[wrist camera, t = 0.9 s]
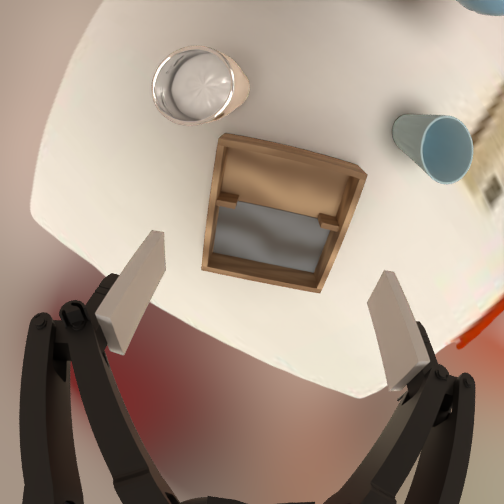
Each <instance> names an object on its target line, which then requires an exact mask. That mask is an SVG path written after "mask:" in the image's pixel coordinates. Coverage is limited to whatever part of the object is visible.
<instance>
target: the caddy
mask: <svg viewBox="0 0 504 504" xmlns="http://www.w3.org/2000/svg"><path fill="white" fill-rule="evenodd" d="M366 178H367V174H366V173H365V172H364V171H363V170H362V169H361V168H360V167H359V166H358V165H356V164H353V163H349V162H346V161H343V160H340V159H336V158H333V157H329V156H326V155H322V154H319V153H315V152H311V151H308V150H304V149H300V148H296V147H292V146H287V145H283V144H279V143H274V142H270V141H265V140H260V139H255V138H250V137H245V136H239V135H234V134H228V133H225V134H224V135H222V136H221V137H220V138H219V139H218V145H217V151H216V157H215V164H214V171H213V177H212V184H211V192H210V199H209V207H208V214H207V222H206V231H205V239H204V248H203V258H202V267H201V270H203V271H208V272H213V273H218V274H222V275H227V276H232V277H237V278H242V279H247V280H252V281H257V282H262V283H267V284H272V285H277V286H282V287H288V288H293V289H298V290H304V291H309V292H315V293H320V292H321V290H322V288H323V286H324V284H325V281H326V279H327V277H328V275H329V272H330V270H331V268H332V265H333V263H334V261H335V258H336V256H337V254H338V251H339V249H340V247H341V244H342V242H343V239H344V237H345V234H346V232H347V229H348V227H349V224H350V222H351V219H352V216H353V214H354V211H355V209H356V206H357V203H358V200H359V198H360V195H361V192H362V189H363V187H364V184H365V181H366Z"/></svg>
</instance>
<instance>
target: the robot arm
mask: <svg viewBox="0 0 504 504" xmlns="http://www.w3.org/2000/svg"><path fill="white" fill-rule="evenodd" d="M456 1H458V2H459V3H460V4H461V5H462V6H464V7H465V8H467V9H469V10H472V11H475V12H476V13H479V14H483V15H490V16H503V15H504V0H456ZM165 271H166V263H165V245H164V232H160V231H154V230H152V231H151V232H150V233H149V235H148V236H147V237H146V239H145V240H144V241H143V243H142V244H141V246H140V247H139V248H138V250H137V251H136V252H135V254H134V255H133V257H132V258H131V259H130V261H129V262H128V264H127V265H126V267H125V268H124V269H123V271H122V272H121V274H120V275H117V274H113V273H111V274H110V275H108V276H107V277H105V278H104V279H103V280H102V282H101V283H100V285H99V287H98V288H97V289H96V290H95V293H93V295H92V297H91V298H90V299H89V301H88V302H87V304H86V305H84V303H82V302H81V301H77V300H73V301H69V302H67V303H65V304H64V305H63V306H62V307H61V309H60V312H59V316H60V318H61V320H62V321H61V320H53V319H52V318H51V316H50V315H49V314H48V313H44V312H43V313H38V314H37V315H35V316H34V317H33V318H32V320H31V322H30V325H29V330H28V335H27V341H26V347H25V354H24V360H23V369H22V378H21V391H20V415H19V418H20V419H19V420H20V423H19V424H20V448H21V461H22V470H23V477H24V484H25V486H24V493H23V502H22V504H84V502H83V493H82V487H81V483H80V477H79V472H78V467H77V461H76V455H75V447H74V439H73V430H72V419H71V401H70V361H72V364H73V369H74V373H75V377H76V381H77V384H78V388H79V391H80V395H81V398H82V401H83V405H84V408H85V411H86V414H87V416H88V420H89V423H90V425H91V428H92V431H93V433H94V436H95V438H96V441H97V443H98V446H99V448H100V451H101V453H102V455H103V457H104V460H105V462H106V464H107V466H108V468H109V470H110V472H111V475H112V477H113V485H114V488H115V490H116V492H117V494H118V496H119V498H120V500H121V502H122V503H123V504H246V503H243V502H240V501H237V500H232V499H224V498H218V497H211V496H208V497H201V498H194V499H190V500H187V501H184V502H181V503H180V502H179V500H178V499H177V497H176V496H175V495H174V493H173V491H172V490H171V488H170V487H169V486H168V484H167V483H166V481H165V480H164V479H163V478H162V476H161V474H160V473H159V471H158V469H157V468H156V466H155V464H154V463H153V461H152V459H151V457H150V455H149V454H148V452H147V450H146V448H145V446H144V444H143V443H142V440H141V438H140V436H139V434H138V432H137V430H136V429H135V426H134V424H133V422H132V420H131V418H130V415H129V413H128V411H127V409H126V406H125V404H124V402H123V399H122V397H121V394H120V392H119V390H118V387H117V384H116V382H115V379H114V377H113V374H112V371H111V368H110V365H109V363H108V360H107V356H106V353H105V351H104V350H105V348H106V346H107V345H108V347H109V349H110V351H112V352H115V353H118V354H121V355H124V354H125V352H126V350H127V348H128V345H129V343H130V341H131V339H132V337H133V335H134V332H135V330H136V328H137V326H138V324H139V322H140V320H141V318H142V316H143V314H144V312H145V310H146V307H147V305H148V303H149V302H150V300H151V298H152V296H153V294H154V292H155V290H156V288H157V286H158V284H159V282H160V280H161V278H162V276H163V274H164V272H165ZM367 305H368V308H369V311H370V315H371V318H372V322H373V326H374V329H375V333H376V337H377V341H378V345H379V349H380V353H381V357H382V361H383V366H384V370H385V375H386V379H387V384H388V389H389V391H400V390H402V389H403V388H404V387H405V386H406V385H407V388H408V391H406V392H405V393H404V394H403V395H402V396H401V397H399V398H398V400H397V401H399V400H400V399H401V401H400V403H399V405H398V407H397V408H396V410H395V412H394V414H393V415H392V417H391V419H390V421H389V422H388V424H387V426H386V427H385V429H384V430H383V432H382V434H381V435H380V437H379V438H378V440H377V441H376V443H375V444H374V446H373V447H372V449H371V450H370V452H369V453H368V454H367V456H366V457H365V459H364V460H363V461H362V463H361V464H360V465H359V467H358V468H357V469H356V471H355V472H354V473H353V474H352V476H351V477H350V478H349V479H348V481H347V482H346V483H345V484H344V486H343V487H342V488H341V489H340V490H339V491H338V492H337V493H335V494H334V495H332V496H331V497H330V498H328V499H327V500H326V502H324V503H323V504H396V500H395V496H396V494H397V492H398V491H399V489H400V487H401V486H402V484H403V483H404V481H405V479H406V477H407V476H408V474H409V472H410V471H411V468H412V467H413V465H414V463H415V461H416V460H417V457H418V456H419V454H420V452H421V454H420V458H419V461H418V465H417V468H416V472H415V475H414V478H413V481H412V484H411V487H410V490H409V492H408V495H407V498H406V500H405V503H404V504H459V502H460V498H461V495H462V491H463V487H464V483H465V478H466V473H467V469H468V463H469V458H470V451H471V444H472V436H473V426H474V412H475V381H474V379H473V377H471V375H470V374H468V373H462V374H461V375H460V376H459V377H454V376H451V375H449V373H448V371H447V369H446V368H445V367H444V366H442V365H440V364H438V363H437V360H436V357H435V354H434V351H433V348H432V346H431V343H430V340H429V338H428V335H427V333H426V330H425V328H424V327H423V326H422V324H421V323H420V322H418V321H415V318H414V316H413V313H412V311H411V308H410V306H409V304H408V301H407V299H406V297H405V294H404V292H403V290H402V288H401V286H400V283H399V281H398V279H397V277H396V275H395V273H394V272H391V271H386V270H384V271H383V273H382V275H381V277H380V279H379V281H378V283H377V285H376V287H375V289H374V291H373V292H372V294H371V296H370V298H369V300H368V302H367ZM451 409H452V412H451ZM280 504H315V502H304V503H303V502H301V503H280Z"/></svg>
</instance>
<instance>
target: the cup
mask: <svg viewBox="0 0 504 504" xmlns="http://www.w3.org/2000/svg"><path fill="white" fill-rule="evenodd" d="M392 134H393V139H394V142H395V143H396V145H397V146H398V147H399V148H400V149H401V150H402V151H403V152H404V153H405V154H406V155H408V156H409V157H410V158H411V159H412V160H413V161H414V162H415V163H416V164H417V165H419V166H420V167H421V168H422V169H423V170H424V171H425V172H426V173H427V174H428V175H429V176H430V177H431V178H432V179H433V180H435V181H436V182H438V183H441V184H452V183H455V182H457V181H459V180H460V179H461V178H462V177H463V176H464V175H465V174H466V173H467V171H468V169H469V167H470V165H471V162H472V158H473V143H472V138H471V135H470V133H469V131H468V129H467V128H466V126H465V125H464V124H463V123H462V122H461V121H460V120H458V119H457V118H455V117H452V116H446V115H423V114H405V115H403V116H400V117H399V118H398V119H397V120H396V121H395V123H394V125H393V129H392Z"/></svg>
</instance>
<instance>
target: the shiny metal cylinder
mask: <svg viewBox="0 0 504 504" xmlns="http://www.w3.org/2000/svg"><path fill="white" fill-rule="evenodd" d="M249 91H250V84H249V80H248V78H247V77H246V75H245V74H244V73H243V72H242V70H241V68H240V67H239V66H238V64H237V63H236V62H235V61H234V60H233V59H232V58H230V57H229V56H227V55H225V54H224V53H222V52H219V51H216V50H214V49H212V48H209V47H205V46H188V47H184V48H181V49H179V50H176V51H174V52H173V53H171V54H170V55H168V56H167V57H166V58H165V59H164V60H163V61H162V62H161V63H160V65H159V66H158V68H157V70H156V72H155V74H154V77H153V80H152V97H153V101H154V103H155V105H156V107H157V109H158V110H159V112H160V113H161V114H162V115H163V116H164V117H166V118H167V119H168V120H170V121H172V122H174V123H177V124H180V125H187V126H194V125H200V124H205V123H210V122H213V121H217V120H219V119H222V118H223V117H225V116H227V115H228V114H230V113H231V112H232V111H234V110H235V109H236V108H238V107H239V106H241V105H242V104H243V103H244V102H245V101H246V99H247V97H248V95H249Z"/></svg>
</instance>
